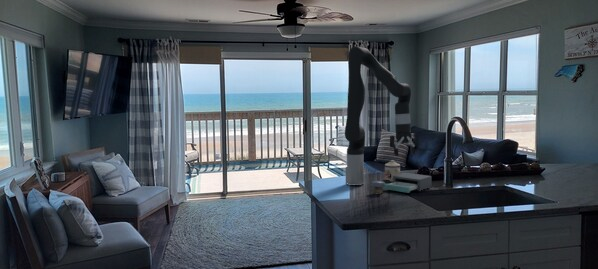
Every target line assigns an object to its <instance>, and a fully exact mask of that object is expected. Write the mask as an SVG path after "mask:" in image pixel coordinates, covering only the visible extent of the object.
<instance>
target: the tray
mask: <svg viewBox="0 0 598 269" xmlns="http://www.w3.org/2000/svg"><path fill="white" fill-rule="evenodd" d="M417 188H418V184H411V183H404V182H393V181H392V182H391V183H385V186H384V187H382V190H389V191H393V192H394V191H395V192H402V193H407V194H409V193H411V192H412V191H415V190H414V189H417Z"/></svg>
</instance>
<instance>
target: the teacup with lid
mask: <svg viewBox="0 0 598 269" xmlns="http://www.w3.org/2000/svg"><path fill="white" fill-rule="evenodd" d="M398 174H401V164H400V163H397V162H396V161H395V160H394V159H391V160H390V161H389V162H387V163H385V164H384V180H385V179H386V180H393V176H395V175H398ZM386 180H385V181H386Z"/></svg>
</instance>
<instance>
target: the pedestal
mask: <svg viewBox="0 0 598 269" xmlns="http://www.w3.org/2000/svg"><path fill="white" fill-rule="evenodd" d="M373 191H374V192H373V194H374V193H378V194H380V195H382V194H383V187H373ZM381 193H382V194H381Z"/></svg>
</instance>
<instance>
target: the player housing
mask: <svg viewBox="0 0 598 269" xmlns="http://www.w3.org/2000/svg"><path fill="white" fill-rule="evenodd" d="M393 182H404V183H411V184H418V188H417V189H414V190H413V191H416V190H419V191H418V192H422V191H424V190H423V189H425V190H428V189H430V187H431V188H433V187H432V175H425V174H418V173H417V174H416V173H410V172H409V173H408V172H402V173H400V174H398V175H395V176H393V181H392V183H393ZM427 188H428V189H427ZM421 190H422V191H421Z"/></svg>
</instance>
